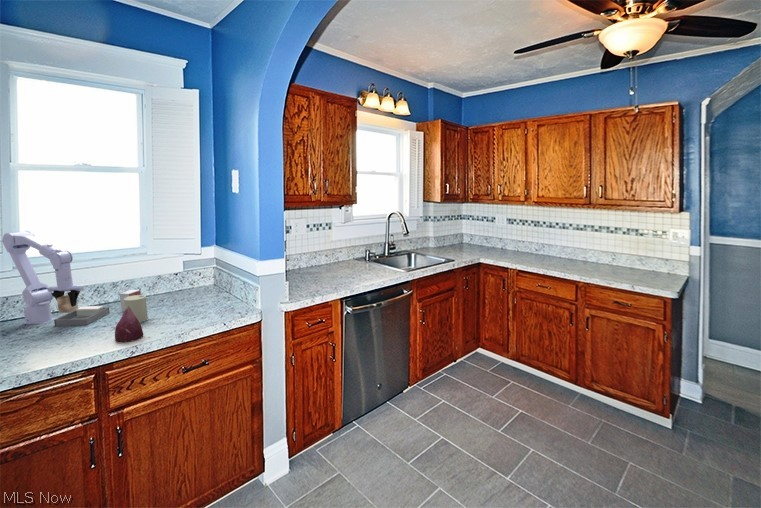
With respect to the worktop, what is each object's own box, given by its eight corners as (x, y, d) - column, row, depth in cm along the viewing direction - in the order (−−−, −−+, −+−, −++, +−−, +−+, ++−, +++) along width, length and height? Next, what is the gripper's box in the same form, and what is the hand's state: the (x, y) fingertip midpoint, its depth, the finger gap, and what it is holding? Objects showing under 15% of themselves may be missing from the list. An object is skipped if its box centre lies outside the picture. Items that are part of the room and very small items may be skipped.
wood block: (58, 312, 183) (56, 298, 182) (68, 308, 189) (66, 294, 187) (69, 312, 183) (67, 298, 182) (78, 308, 189) (76, 294, 188)
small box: (130, 313, 203) (128, 293, 201) (121, 313, 204) (119, 293, 202) (142, 309, 211) (140, 289, 209) (133, 308, 212) (131, 289, 210)
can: (151, 320, 194) (148, 296, 192) (129, 325, 187) (126, 300, 185) (144, 315, 200) (142, 292, 198) (123, 320, 194) (121, 296, 191)
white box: (76, 317, 196) (75, 309, 195) (82, 314, 201) (81, 306, 200) (98, 316, 197) (97, 308, 196) (104, 313, 201) (103, 306, 201)
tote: (55, 327, 184) (54, 319, 184) (80, 314, 202) (79, 307, 201) (87, 326, 185) (86, 319, 185) (109, 313, 203) (108, 307, 202)
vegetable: (124, 341, 176) (121, 307, 177) (148, 337, 177) (144, 304, 178) (109, 344, 166) (105, 309, 167) (135, 341, 167) (131, 305, 168)
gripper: (40, 280, 179) (45, 309, 181) (74, 279, 180) (78, 308, 182) (52, 276, 186) (56, 304, 188) (84, 275, 187) (88, 303, 189)
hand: (68, 306), depth 186 cm, fingers closed on wood block, 4 cm apart
